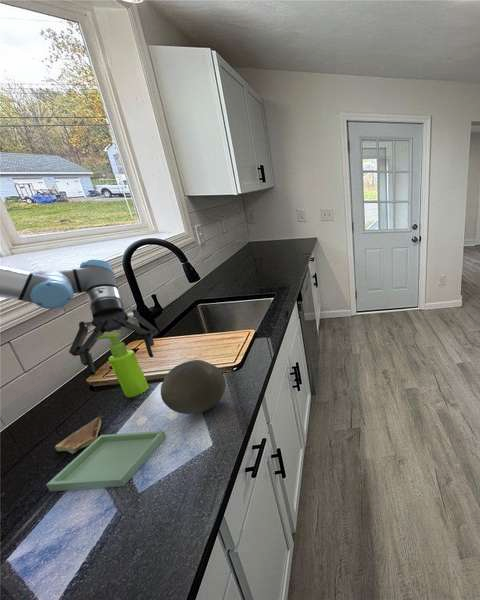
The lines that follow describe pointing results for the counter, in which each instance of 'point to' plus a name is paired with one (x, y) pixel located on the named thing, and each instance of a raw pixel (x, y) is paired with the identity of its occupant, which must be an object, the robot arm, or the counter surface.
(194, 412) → the dark grey rounded lump
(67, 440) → the shard
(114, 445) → the green tray
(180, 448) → the counter surface
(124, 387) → the soap dispenser
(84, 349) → the robot arm
